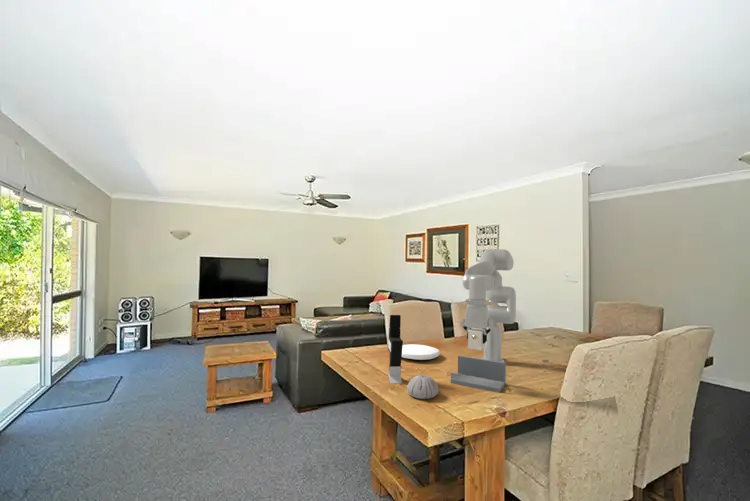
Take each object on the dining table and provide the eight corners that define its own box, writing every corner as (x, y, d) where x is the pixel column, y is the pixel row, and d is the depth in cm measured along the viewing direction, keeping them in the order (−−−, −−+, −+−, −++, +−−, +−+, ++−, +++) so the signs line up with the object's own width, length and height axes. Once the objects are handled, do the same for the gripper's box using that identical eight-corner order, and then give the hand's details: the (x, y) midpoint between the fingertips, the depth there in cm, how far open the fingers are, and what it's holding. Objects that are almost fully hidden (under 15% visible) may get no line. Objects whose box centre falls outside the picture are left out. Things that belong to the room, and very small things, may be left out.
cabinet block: (472, 345, 172) (472, 328, 172) (485, 346, 169) (485, 329, 169) (467, 348, 165) (467, 330, 165) (480, 350, 162) (480, 332, 162)
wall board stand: (458, 375, 179) (458, 355, 179) (505, 384, 168) (505, 362, 168) (450, 382, 169) (450, 361, 169) (499, 392, 157) (500, 369, 158)
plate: (397, 341, 230) (440, 344, 225) (396, 352, 229) (440, 355, 224) (390, 347, 203) (439, 351, 198) (389, 359, 202) (438, 363, 197)
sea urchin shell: (445, 397, 151) (445, 377, 151) (420, 403, 144) (420, 383, 144) (424, 387, 162) (424, 369, 163) (399, 393, 155) (400, 374, 155)
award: (386, 374, 180) (388, 312, 180) (397, 374, 180) (398, 312, 181) (390, 384, 164) (392, 317, 165) (402, 384, 165) (403, 317, 166)
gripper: (456, 301, 169) (455, 341, 169) (494, 305, 160) (494, 346, 160) (461, 300, 176) (461, 338, 175) (498, 303, 167) (498, 343, 166)
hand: (476, 341), depth 168 cm, fingers closed on cabinet block, 6 cm apart
